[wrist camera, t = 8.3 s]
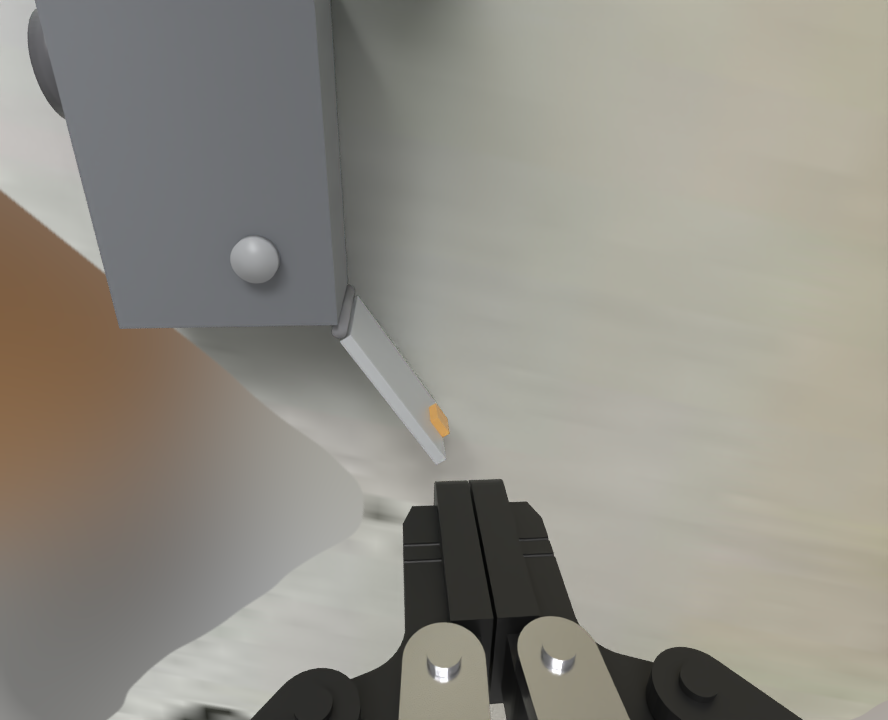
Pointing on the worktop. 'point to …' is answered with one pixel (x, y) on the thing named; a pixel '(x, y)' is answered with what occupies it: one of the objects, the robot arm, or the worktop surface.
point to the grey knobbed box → (204, 154)
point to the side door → (391, 375)
